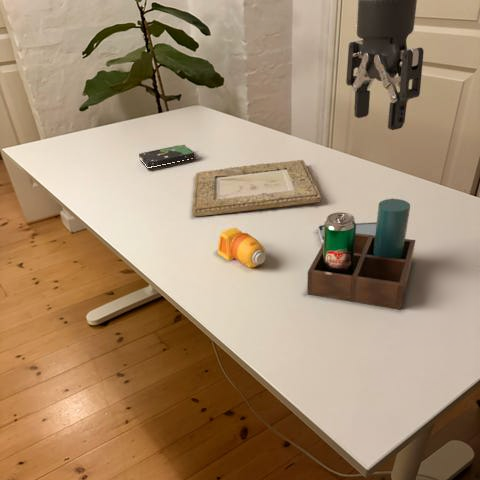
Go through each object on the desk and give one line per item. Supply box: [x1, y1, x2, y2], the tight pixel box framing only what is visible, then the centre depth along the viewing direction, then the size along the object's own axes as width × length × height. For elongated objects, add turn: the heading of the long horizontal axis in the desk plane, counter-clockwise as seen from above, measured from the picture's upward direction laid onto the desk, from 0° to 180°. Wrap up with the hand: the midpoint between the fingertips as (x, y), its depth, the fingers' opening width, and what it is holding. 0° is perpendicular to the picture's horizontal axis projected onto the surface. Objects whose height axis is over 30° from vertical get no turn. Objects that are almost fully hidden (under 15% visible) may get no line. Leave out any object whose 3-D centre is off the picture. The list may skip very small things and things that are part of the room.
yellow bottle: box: [217, 227, 266, 268], centre depth 89 cm, size 5×6×12 cm
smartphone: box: [317, 221, 377, 244], centre depth 94 cm, size 7×1×15 cm
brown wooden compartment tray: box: [306, 233, 416, 310], centre depth 81 cm, size 15×15×5 cm
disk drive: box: [138, 144, 196, 171], centre depth 140 cm, size 10×3×15 cm
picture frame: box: [191, 159, 322, 218], centre depth 117 cm, size 27×30×3 cm
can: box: [373, 198, 411, 259], centre depth 80 cm, size 5×5×12 cm
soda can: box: [322, 211, 357, 276], centre depth 77 cm, size 5×5×12 cm
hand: (377, 122), depth 71 cm, fingers open, 8 cm apart
